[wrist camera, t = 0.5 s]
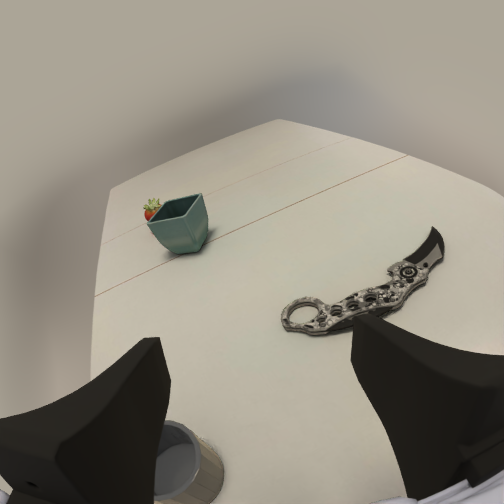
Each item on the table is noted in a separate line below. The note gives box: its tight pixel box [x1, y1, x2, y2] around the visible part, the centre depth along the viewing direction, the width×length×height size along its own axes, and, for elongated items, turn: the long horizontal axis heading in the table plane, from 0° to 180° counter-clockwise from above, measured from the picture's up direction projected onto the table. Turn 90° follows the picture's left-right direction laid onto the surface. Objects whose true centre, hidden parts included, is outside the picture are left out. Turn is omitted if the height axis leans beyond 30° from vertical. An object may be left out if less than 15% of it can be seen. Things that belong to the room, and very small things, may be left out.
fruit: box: [143, 198, 162, 221], centre depth 72 cm, size 5×5×8 cm
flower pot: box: [147, 193, 208, 254], centre depth 61 cm, size 9×9×9 cm
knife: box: [281, 226, 444, 335], centre depth 39 cm, size 28×2×10 cm
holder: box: [154, 420, 224, 504], centre depth 24 cm, size 8×8×6 cm
